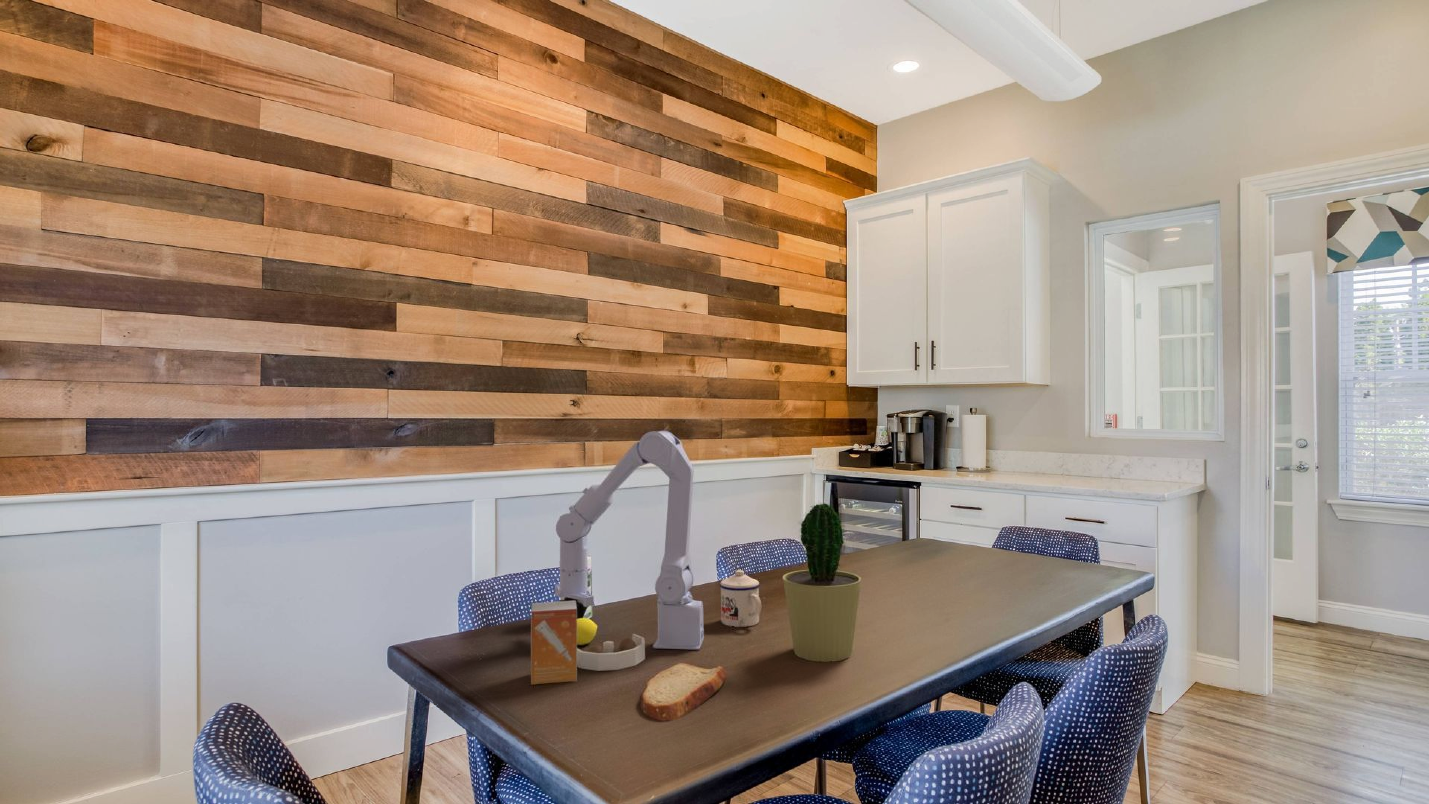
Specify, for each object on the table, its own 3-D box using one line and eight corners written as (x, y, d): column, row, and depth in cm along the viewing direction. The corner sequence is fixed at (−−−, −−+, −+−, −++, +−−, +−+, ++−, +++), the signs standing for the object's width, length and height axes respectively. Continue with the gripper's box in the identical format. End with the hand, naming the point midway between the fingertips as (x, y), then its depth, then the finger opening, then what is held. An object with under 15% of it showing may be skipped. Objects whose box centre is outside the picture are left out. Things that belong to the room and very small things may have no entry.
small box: (530, 685, 129) (530, 611, 129) (531, 673, 135) (531, 602, 135) (577, 681, 131) (577, 608, 131) (576, 669, 137) (575, 599, 137)
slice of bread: (653, 726, 112) (653, 701, 112) (619, 687, 129) (619, 665, 129) (758, 706, 120) (758, 683, 120) (713, 672, 136) (713, 651, 136)
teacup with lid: (712, 621, 169) (711, 570, 169) (744, 614, 174) (743, 565, 174) (743, 633, 159) (742, 579, 159) (776, 626, 164) (775, 573, 164)
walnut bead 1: (606, 660, 142) (606, 643, 142) (601, 666, 138) (601, 648, 138) (589, 660, 142) (589, 642, 142) (584, 666, 139) (584, 648, 139)
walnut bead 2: (637, 653, 146) (637, 636, 146) (634, 659, 142) (633, 641, 142) (621, 653, 146) (620, 635, 146) (616, 658, 143) (616, 641, 143)
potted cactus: (815, 636, 156) (813, 494, 157) (877, 651, 145) (875, 499, 146) (767, 652, 146) (765, 500, 146) (830, 671, 135) (828, 507, 135)
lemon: (572, 652, 148) (569, 626, 148) (562, 645, 153) (559, 620, 153) (604, 642, 152) (601, 616, 152) (593, 635, 157) (590, 610, 156)
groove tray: (657, 651, 147) (657, 636, 147) (621, 674, 134) (621, 657, 134) (605, 644, 152) (605, 630, 152) (565, 666, 139) (565, 650, 139)
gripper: (542, 566, 159) (542, 629, 159) (571, 577, 147) (571, 645, 147) (572, 562, 163) (572, 623, 163) (602, 573, 152) (603, 639, 151)
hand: (574, 633), depth 155 cm, fingers closed
